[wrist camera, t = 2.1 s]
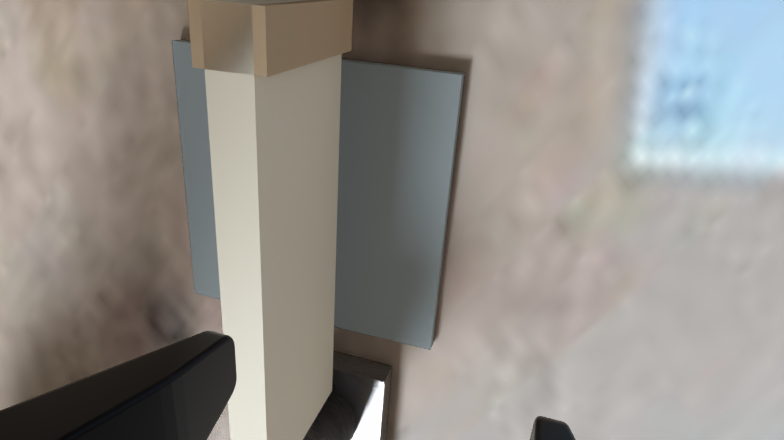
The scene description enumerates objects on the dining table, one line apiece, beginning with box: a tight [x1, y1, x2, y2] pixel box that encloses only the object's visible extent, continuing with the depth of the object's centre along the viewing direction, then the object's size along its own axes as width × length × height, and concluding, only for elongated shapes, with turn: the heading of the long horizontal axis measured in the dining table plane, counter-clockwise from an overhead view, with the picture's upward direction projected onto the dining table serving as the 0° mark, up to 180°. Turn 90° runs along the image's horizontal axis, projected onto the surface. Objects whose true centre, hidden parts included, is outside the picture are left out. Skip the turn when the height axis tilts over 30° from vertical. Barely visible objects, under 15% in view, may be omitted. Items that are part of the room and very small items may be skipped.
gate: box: [187, 0, 353, 440], centre depth 16 cm, size 14×2×5 cm, turn 176°
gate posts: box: [303, 351, 392, 440], centre depth 17 cm, size 22×5×8 cm, turn 176°
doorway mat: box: [172, 40, 465, 350], centre depth 20 cm, size 10×10×1 cm
